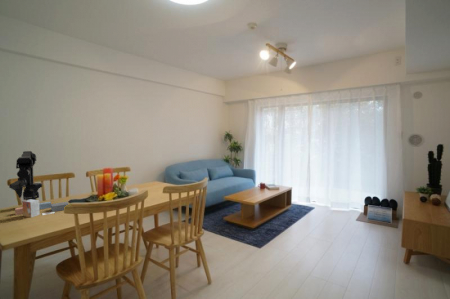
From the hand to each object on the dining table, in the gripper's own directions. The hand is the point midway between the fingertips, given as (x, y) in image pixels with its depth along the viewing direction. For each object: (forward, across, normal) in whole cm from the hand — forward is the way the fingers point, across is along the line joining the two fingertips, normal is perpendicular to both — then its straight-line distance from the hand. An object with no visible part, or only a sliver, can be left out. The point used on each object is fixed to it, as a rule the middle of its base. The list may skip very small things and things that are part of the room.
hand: (26, 197), depth 158 cm
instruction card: (+12, +13, +2) cm, 18 cm away
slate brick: (+12, 0, +14) cm, 19 cm away
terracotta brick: (+12, -6, +2) cm, 14 cm away
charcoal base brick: (+12, +15, +11) cm, 22 cm away
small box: (+12, +5, -2) cm, 13 cm away
